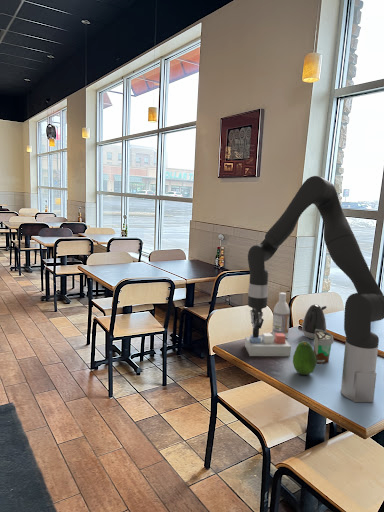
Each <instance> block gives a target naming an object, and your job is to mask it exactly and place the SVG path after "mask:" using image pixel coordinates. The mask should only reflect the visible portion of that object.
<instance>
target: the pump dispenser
mask: <svg viewBox="0 0 384 512" xmlns="http://www.w3.org/2000/svg"><path fill="white" fill-rule="evenodd" d="M326 309H327V305H324V306H320V305H319V304H312V305H310V307H308V309H307V310H306V313H305V315H304V318H303V321H302V325H301V326H302V327H301V330H302V332H303V335H304V336H305V337H307V338H308V339H309V340H315V329H318V330H323V331H326V332H327V322H326V321H327V320H326V318H325V317H326V316H325V313H324V310H326Z"/></svg>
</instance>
